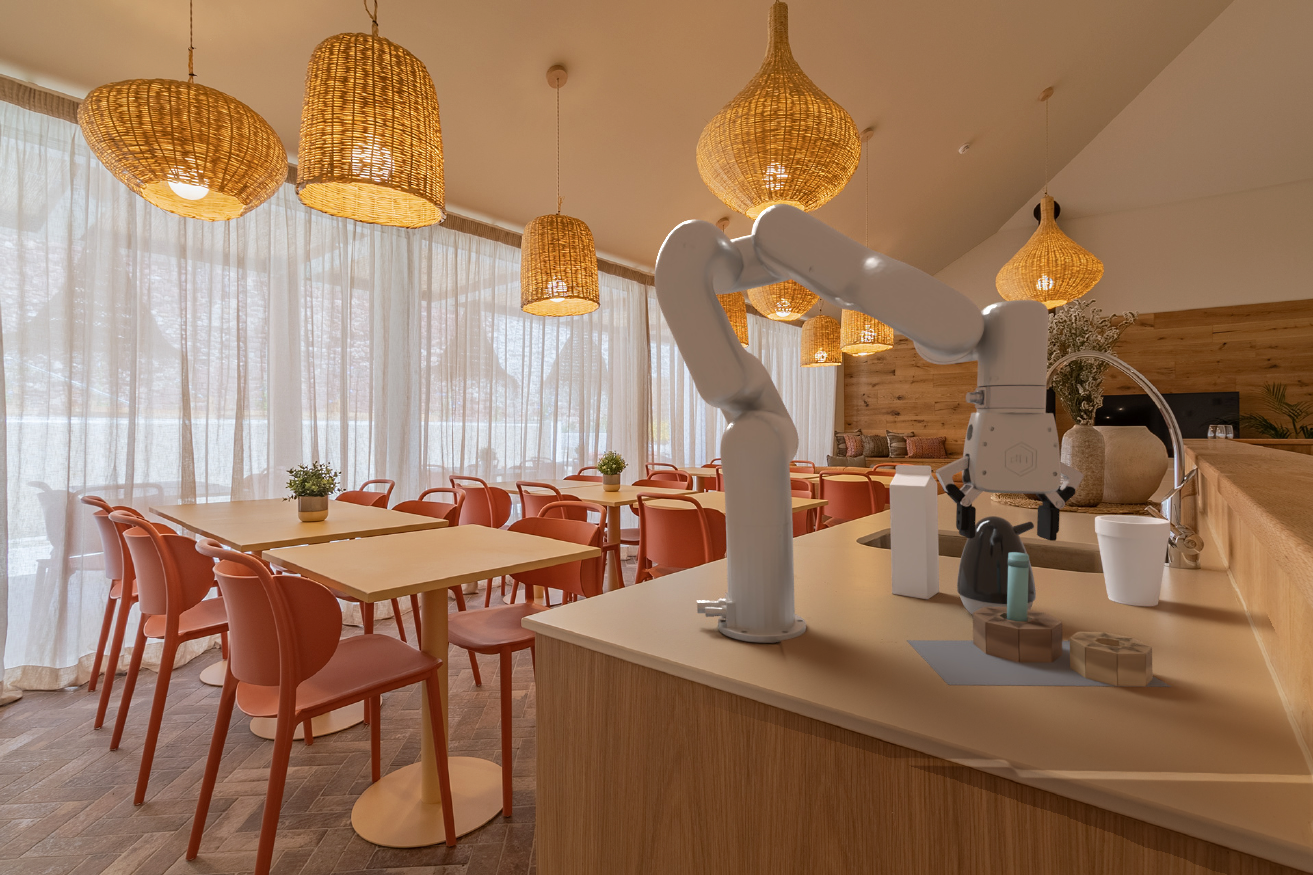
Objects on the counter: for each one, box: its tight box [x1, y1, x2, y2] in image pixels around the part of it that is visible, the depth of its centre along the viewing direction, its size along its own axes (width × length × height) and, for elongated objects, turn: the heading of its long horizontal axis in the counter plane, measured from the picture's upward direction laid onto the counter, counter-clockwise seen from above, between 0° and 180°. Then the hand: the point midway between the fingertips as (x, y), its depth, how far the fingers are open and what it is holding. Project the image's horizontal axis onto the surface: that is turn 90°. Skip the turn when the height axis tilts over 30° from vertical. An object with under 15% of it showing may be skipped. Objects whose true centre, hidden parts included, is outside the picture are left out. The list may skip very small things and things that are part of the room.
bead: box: [972, 607, 1063, 663], centre depth 77 cm, size 9×9×4 cm
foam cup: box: [1094, 514, 1171, 607], centre depth 97 cm, size 10×9×13 cm
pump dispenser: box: [956, 515, 1037, 616], centre depth 90 cm, size 10×10×15 cm
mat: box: [906, 639, 1172, 688], centre depth 73 cm, size 23×14×1 cm, turn 85°
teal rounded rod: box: [1007, 552, 1030, 622], centre depth 76 cm, size 2×2×12 cm
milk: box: [889, 464, 940, 600], centre depth 105 cm, size 6×6×22 cm
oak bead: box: [1069, 631, 1154, 687], centre depth 69 cm, size 7×7×4 cm
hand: (1006, 537), depth 77 cm, fingers open, 9 cm apart
